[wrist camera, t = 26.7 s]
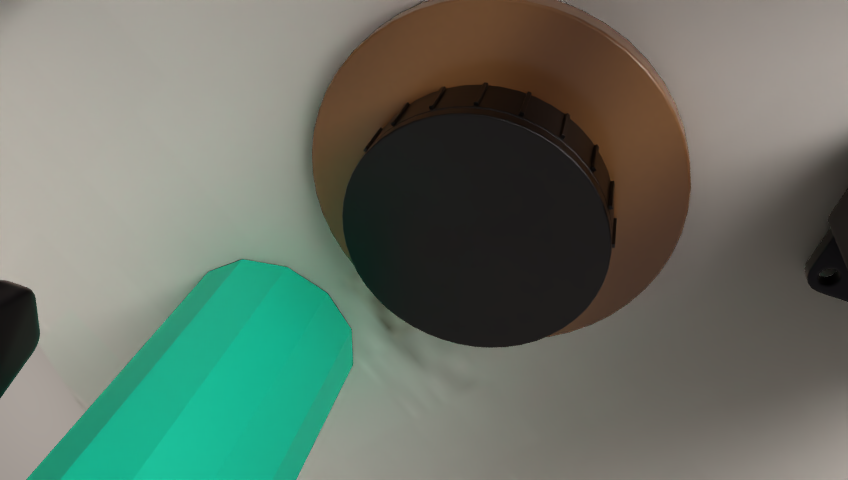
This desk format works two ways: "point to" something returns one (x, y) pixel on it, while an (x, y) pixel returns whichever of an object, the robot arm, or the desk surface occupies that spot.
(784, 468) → the desk surface
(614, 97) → the coaster
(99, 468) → the candle
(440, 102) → the lid
